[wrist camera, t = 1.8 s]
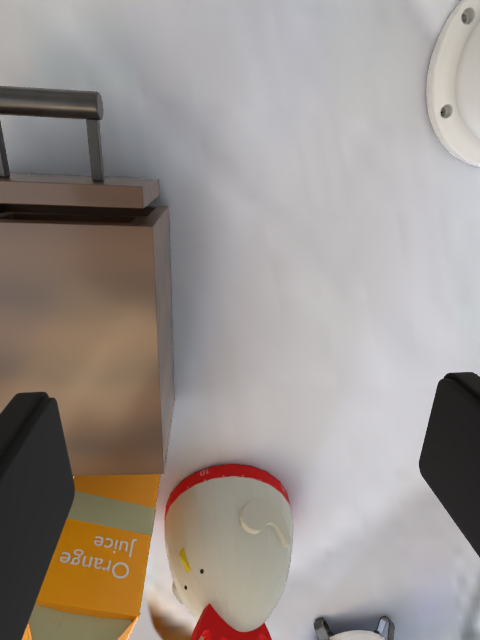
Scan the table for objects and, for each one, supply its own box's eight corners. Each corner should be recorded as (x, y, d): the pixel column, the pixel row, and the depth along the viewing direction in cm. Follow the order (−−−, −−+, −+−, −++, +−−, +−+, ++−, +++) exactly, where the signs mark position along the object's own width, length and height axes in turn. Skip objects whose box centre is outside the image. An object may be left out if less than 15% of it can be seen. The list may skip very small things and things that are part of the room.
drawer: (-26, 94, 25) (-115, 70, 18) (155, 105, 26) (137, 86, 19) (31, 376, 33) (-15, 433, 26) (166, 375, 34) (155, 430, 27)
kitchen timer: (214, 444, 39) (217, 602, 25) (314, 496, 43) (364, 657, 29) (142, 526, 42) (110, 703, 29) (240, 567, 46) (253, 739, 33)
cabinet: (-6, 200, 28) (-100, 218, 20) (169, 206, 29) (153, 226, 21) (34, 400, 35) (-21, 478, 27) (174, 399, 36) (164, 474, 28)
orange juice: (164, 459, 39) (125, 728, 21) (139, 517, 42) (85, 798, 24) (87, 439, 37) (-30, 714, 19) (67, 502, 40) (-51, 791, 22)
